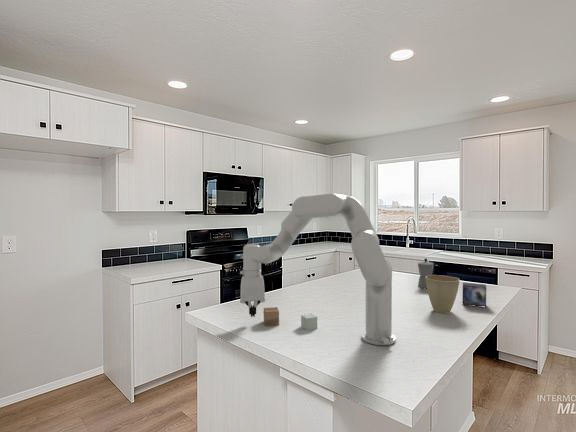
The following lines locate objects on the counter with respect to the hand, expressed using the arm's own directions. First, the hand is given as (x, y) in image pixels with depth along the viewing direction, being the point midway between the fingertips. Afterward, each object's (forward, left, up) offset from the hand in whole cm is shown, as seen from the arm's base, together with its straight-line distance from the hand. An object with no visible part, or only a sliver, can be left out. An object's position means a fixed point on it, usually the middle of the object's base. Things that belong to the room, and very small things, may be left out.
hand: (252, 315), depth 143 cm
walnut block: (0, -8, -4) cm, 9 cm away
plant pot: (+2, -91, -4) cm, 91 cm away
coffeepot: (+48, -112, -4) cm, 122 cm away
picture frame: (+8, -113, -4) cm, 113 cm away
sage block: (-8, -23, -4) cm, 25 cm away
